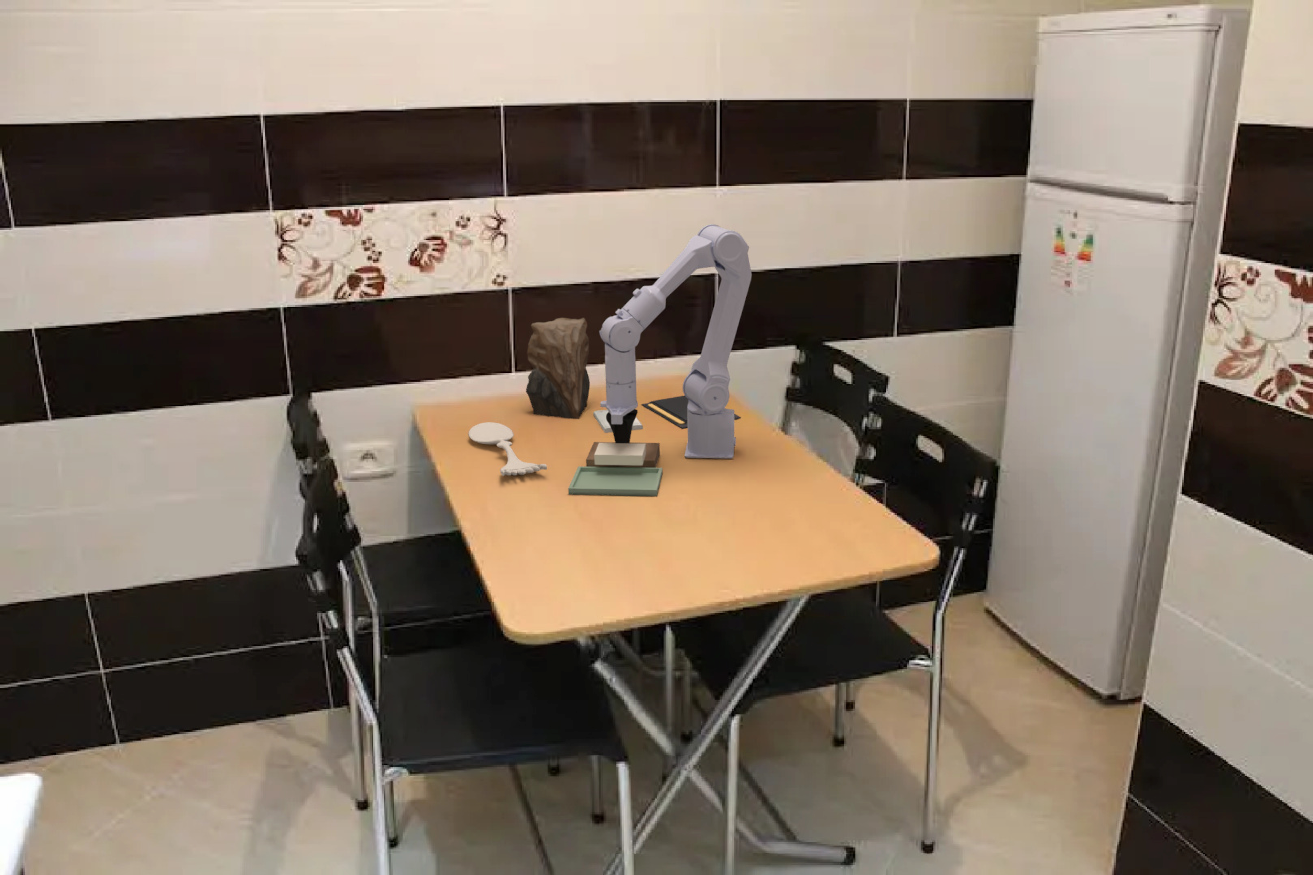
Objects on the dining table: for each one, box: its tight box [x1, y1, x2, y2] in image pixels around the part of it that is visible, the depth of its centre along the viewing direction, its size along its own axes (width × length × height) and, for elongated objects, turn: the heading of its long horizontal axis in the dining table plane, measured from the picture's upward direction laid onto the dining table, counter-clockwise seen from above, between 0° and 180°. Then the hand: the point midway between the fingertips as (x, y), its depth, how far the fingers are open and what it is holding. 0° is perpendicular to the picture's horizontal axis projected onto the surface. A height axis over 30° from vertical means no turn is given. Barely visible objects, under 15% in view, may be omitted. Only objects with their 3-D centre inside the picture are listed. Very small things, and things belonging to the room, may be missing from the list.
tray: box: [567, 465, 664, 497], centre depth 206 cm, size 16×11×1 cm
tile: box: [594, 442, 646, 465], centre depth 211 cm, size 9×6×2 cm, turn 84°
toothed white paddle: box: [468, 421, 548, 477], centre depth 221 cm, size 9×32×4 cm, turn 22°
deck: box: [585, 441, 661, 468], centre depth 216 cm, size 13×10×2 cm
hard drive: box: [593, 409, 644, 434], centre depth 241 cm, size 2×8×12 cm
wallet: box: [640, 395, 742, 430], centre depth 247 cm, size 20×2×15 cm
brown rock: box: [525, 317, 591, 420], centre depth 247 cm, size 13×13×20 cm
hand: (622, 448), depth 215 cm, fingers closed
